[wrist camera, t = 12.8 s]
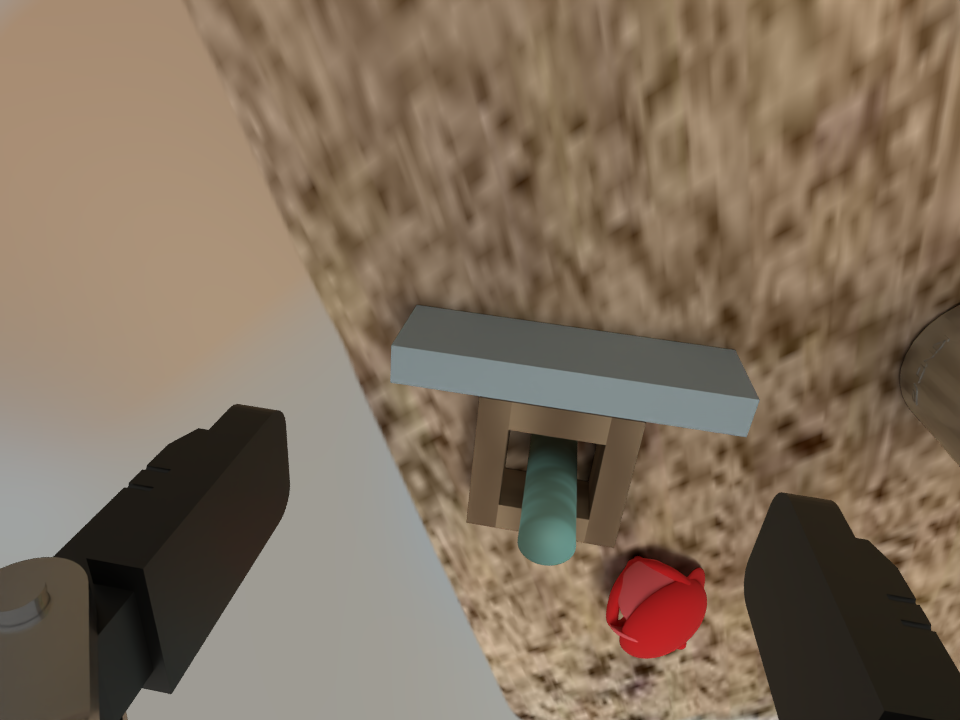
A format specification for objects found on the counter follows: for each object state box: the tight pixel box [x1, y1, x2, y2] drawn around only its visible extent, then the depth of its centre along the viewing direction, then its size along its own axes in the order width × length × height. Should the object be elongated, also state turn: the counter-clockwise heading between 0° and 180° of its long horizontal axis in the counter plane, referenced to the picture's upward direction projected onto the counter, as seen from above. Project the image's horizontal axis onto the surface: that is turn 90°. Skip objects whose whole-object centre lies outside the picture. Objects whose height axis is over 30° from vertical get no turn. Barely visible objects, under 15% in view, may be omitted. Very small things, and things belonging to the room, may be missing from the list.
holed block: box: [466, 396, 646, 548], centre depth 42 cm, size 10×10×4 cm
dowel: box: [518, 434, 577, 566], centre depth 39 cm, size 3×3×10 cm
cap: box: [606, 556, 707, 658], centre depth 45 cm, size 8×6×6 cm
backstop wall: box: [391, 305, 759, 437], centre depth 37 cm, size 20×2×6 cm, turn 85°
